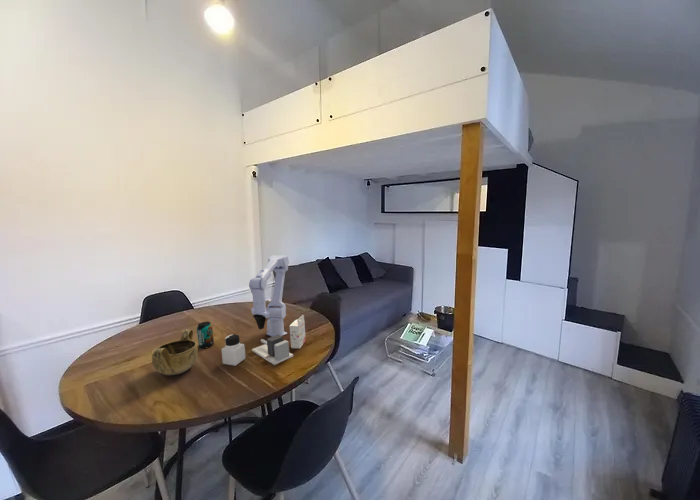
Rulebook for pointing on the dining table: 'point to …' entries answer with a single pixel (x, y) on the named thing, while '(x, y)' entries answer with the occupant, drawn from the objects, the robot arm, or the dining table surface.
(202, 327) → the beverage can
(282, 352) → the pipe stand
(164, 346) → the ceramic bowl
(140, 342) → the dining table surface
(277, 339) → the grey square sleeve
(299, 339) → the ink cartridge box
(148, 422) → the dining table surface
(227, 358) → the medicine bottle
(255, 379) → the dining table surface
